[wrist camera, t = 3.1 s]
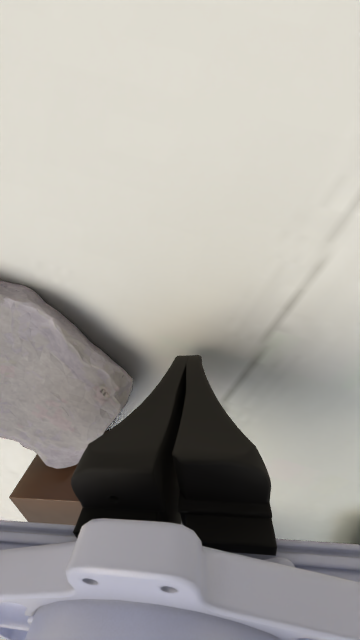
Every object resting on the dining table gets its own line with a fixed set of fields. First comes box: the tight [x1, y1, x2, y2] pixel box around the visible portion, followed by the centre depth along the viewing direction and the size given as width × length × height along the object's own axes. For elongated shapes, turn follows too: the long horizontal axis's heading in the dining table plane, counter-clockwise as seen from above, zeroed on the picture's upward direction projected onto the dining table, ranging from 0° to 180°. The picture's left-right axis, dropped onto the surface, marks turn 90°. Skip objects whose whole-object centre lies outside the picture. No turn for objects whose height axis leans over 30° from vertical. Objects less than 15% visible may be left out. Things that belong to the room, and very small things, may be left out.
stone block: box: [0, 280, 133, 469], centre depth 15 cm, size 12×5×10 cm
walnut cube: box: [9, 431, 108, 525], centre depth 18 cm, size 5×5×5 cm
